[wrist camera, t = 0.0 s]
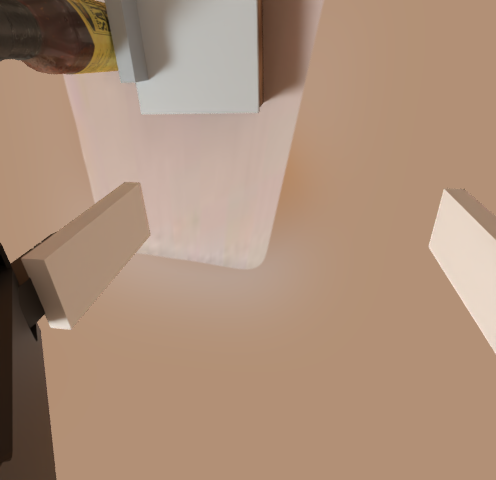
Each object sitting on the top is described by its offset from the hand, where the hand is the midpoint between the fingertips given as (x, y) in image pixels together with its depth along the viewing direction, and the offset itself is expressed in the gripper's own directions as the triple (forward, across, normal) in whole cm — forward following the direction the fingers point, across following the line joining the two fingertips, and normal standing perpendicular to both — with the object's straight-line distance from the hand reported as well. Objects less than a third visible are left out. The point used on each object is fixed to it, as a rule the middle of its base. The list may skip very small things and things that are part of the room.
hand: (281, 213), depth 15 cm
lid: (+24, -10, +8) cm, 28 cm away
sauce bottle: (+28, -20, +8) cm, 36 cm away
